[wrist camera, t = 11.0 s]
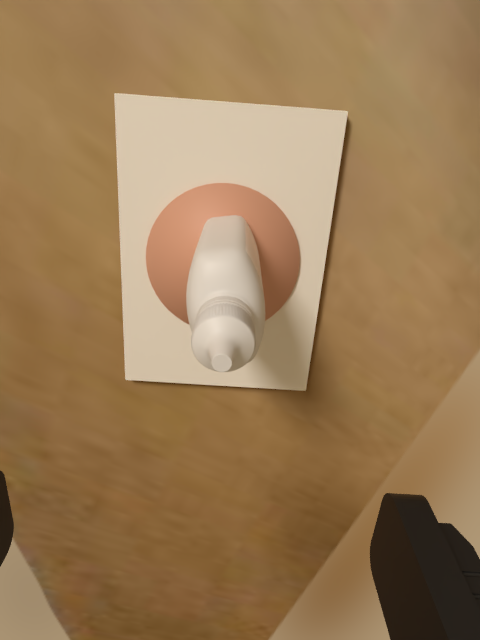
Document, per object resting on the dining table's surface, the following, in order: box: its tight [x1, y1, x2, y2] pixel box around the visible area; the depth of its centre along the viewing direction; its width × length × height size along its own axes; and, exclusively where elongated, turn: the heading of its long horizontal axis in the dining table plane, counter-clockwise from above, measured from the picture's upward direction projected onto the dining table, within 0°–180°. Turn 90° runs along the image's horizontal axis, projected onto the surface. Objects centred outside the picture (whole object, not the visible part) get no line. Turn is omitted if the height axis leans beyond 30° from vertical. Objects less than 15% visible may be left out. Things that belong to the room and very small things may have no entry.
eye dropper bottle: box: [186, 215, 265, 372], centre depth 21 cm, size 4×6×12 cm
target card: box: [114, 93, 348, 391], centre depth 27 cm, size 17×12×1 cm
